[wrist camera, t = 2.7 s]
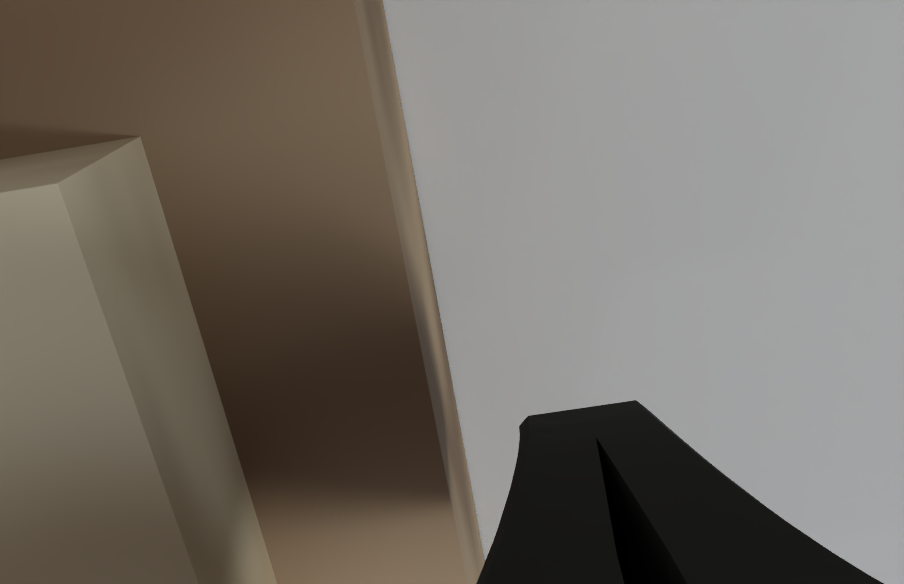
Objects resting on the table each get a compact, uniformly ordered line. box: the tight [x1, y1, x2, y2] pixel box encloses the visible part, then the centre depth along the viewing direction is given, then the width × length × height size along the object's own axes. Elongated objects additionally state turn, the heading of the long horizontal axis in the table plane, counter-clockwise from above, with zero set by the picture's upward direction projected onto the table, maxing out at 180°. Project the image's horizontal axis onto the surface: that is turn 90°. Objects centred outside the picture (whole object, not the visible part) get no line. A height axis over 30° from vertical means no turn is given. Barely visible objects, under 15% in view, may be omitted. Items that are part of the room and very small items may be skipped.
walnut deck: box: [0, 0, 485, 584], centre depth 12 cm, size 14×10×4 cm
